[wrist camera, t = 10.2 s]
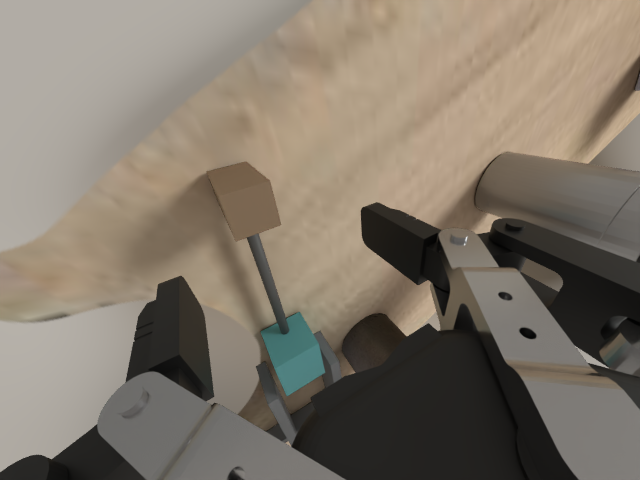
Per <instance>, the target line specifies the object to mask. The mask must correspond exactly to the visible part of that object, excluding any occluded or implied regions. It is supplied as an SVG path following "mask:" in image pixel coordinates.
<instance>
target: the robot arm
mask: <svg viewBox="0 0 640 480" xmlns="http://www.w3.org/2000/svg"><path fill="white" fill-rule="evenodd" d="M475 203H476V206H477V208H478V209H479V210H481V211H484V212H487V213H490V214H493V215H495V216H498V217H501V218H502V219H498V220H495V221H494V222H493V224H492V227H491V230H490V232H487V233H482V234H475V233H474V232H472V231H469V230H466V229H462V228H448V229H445V230H442V231H441V230H439V229H437V228H435V227H433V226H431V225H429V224H427V223H425V222H423V221H421V220H419V219H417V220H416V218H414V217H412V216H409V215H408V214H406V213H404V212H402V211H400V210H395V209H390V208H388V207H386V206H384V205H382V204H380V203H377V202H376V203H373V204H371V205H368V206H365V207H363V208H362V209H361V227H362V238H363V241H364V243H365V245H366V246H367V247H368V248H370V249H371V250H372V251H373V252H375V253H376V254H377V255H379V256H380V257H381V258H383V259H384V260H385V261H387V262H388V263H389V264H391V265H392V266H393V267H395V268H396V269H397V270H398V271H400V272H401V273H402V274H404V275H405V276H406V277H408V278H409V279H410V280H412V281H413V282H414V283H416V284H417V285H420V284H421V283H423V282H425V281H427V280H429V281H430V282H431V284H430V290H431V293H432V297H433V301H434V304H435V308H436V311H437V315H438V319H439V322H440V331H437V330H436V329H434V328H433V327H432V326H431V325H430V324H427V325H425V326H423V327H422V328H420V329H419V330H417V331H415V332H414V333H412V334H411V335H409V336H407V337H406V338H404V339H403V340H402V341H401V343H400V344H399V345H398V346H397V347H396V349H395V350H394V351H393V352H392V353H391V355H390V356H389V357H388V358H387V359H386V361H385V362H384V363H383V364H382V365H380V366H377V367H374V368H371V369H367V370H364V371H361V372H357V373H354V374H351V375H348V376H344V377H343V378H341V379H339V380H338V381H336V382H335V383H333V384H332V385H330V386H328V387H327V388H325V389H324V390H322V391H320V392H319V393H317V394H316V395H314V396H313V397H311V400H312V403H313V406H314V410H313V411H312V412H311V413H310V415H309V416H308V417H307V419H306V420H305V421H304V423H303V424H302V426H301V427H300V429H299V431H298V433H297V435H296V437H295V439H294V441H293V444H292V446H291V447H290V446H289V445H287V444H285V443H284V442H282V441H280V440H279V439H277V438H275V437H274V436H272V435H270V434H269V433H267V432H265V431H264V430H262V429H260V428H259V427H257V426H255V425H254V424H252V423H250V422H249V421H247V420H245V419H244V418H242V417H240V416H239V415H237V414H235V413H234V412H232V411H230V410H229V409H227V408H225V407H224V406H221V405H220V404H217V403H214V404H213V405H211V404H209V403H207V402H206V401H207V400H209V399H211V398H213V397H214V393H213V383H212V375H211V367H210V358H209V349H208V340H207V333H206V324H205V317H204V313H203V310H202V308H201V305H200V304H199V302H198V300H197V299H196V297H195V295H194V294H193V292H192V290H191V289H190V287H189V285H188V284H187V282H186V281H185V279H184V278H183V277H182V276H179V277H176V278H173V279H171V280H168V281H165V282H163V283H160V284H158V289H157V297H156V300H154V301H152V302H149V303H147V304H146V306H145V308H144V309H143V310H142V312H141V313H140V315H139V316H138V321H137V326H136V330H137V331H136V332H135V337H134V340H135V342H133V347H132V352H131V357H130V362H129V368H128V373H127V378H126V383H125V384H123V385H122V386H121V387H120V388H119V389H118V390H117V391H116V392H115V393H114V394H113V395H112V396H111V398H110V399H109V400H108V401H107V403H106V404H105V406H104V407H103V409H102V411H101V413H100V416H99V419H98V424H97V425H96V426H94V427H93V428H92V429H91V430H90V431H88V432H87V433H86V434H84V435H83V436H82V437H80V438H79V439H78V440H76V441H75V442H74V443H73V444H71V445H70V446H69V447H67V448H66V449H65V450H63V451H62V452H61V453H60V454H59V455H57V456H56V457H54V458H53V459H49V458H47V457H45V456H42V455H32V456H29V457H26V458H23V459H21V460H19V461H17V462H15V463H14V464H12V465H10V466H9V467H7V468H6V469H5V470H3V471H2V472H0V480H640V172H639V171H632V170H626V169H619V168H612V167H605V166H599V165H592V164H585V163H579V162H572V161H565V160H559V159H552V158H545V157H539V156H532V155H526V154H519V153H512V152H506V153H503V154H501V155H500V156H498V157H497V158H496V159H495V160H494V161H493V162H492V163H491V164H490V166H489V167H488V168H487V170H486V171H485V173H484V175H483V176H482V178H481V180H480V183H479V185H478V188H477V191H476V197H475ZM526 258H528V259H530V260H532V261H534V262H536V263H538V264H540V265H543V266H545V267H546V268H549V269H551V270H553V271H555V272H556V273H558V274H559V275H560V276H561V277H562V279H563V286H562V288H561V289H560V291H559V292H558V291H556V290H554V289H552V288H550V287H548V286H546V285H544V284H542V283H541V282H539V281H537V280H535V279H533V278H531V277H529V276H527V275H525V274H524V273H522V272H521V269H522V267H523V265H524V263H525V260H526ZM574 345H575V346H576V347H578V348H579V349H581V350H582V351H584V352H586V353H588V354H589V355H590V356H592V357H593V358H595V359H596V360H598V361H599V362H601V363H602V364H604V365H606V366H607V367H609V369H608V368H605V367H601V366H597V365H594V364H590V363H587V362H586V360H585V359H584V358H583V356H582V355H581V354H580V352H579V351H578V350H577V348H576V347H575V346H574Z"/></svg>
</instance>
